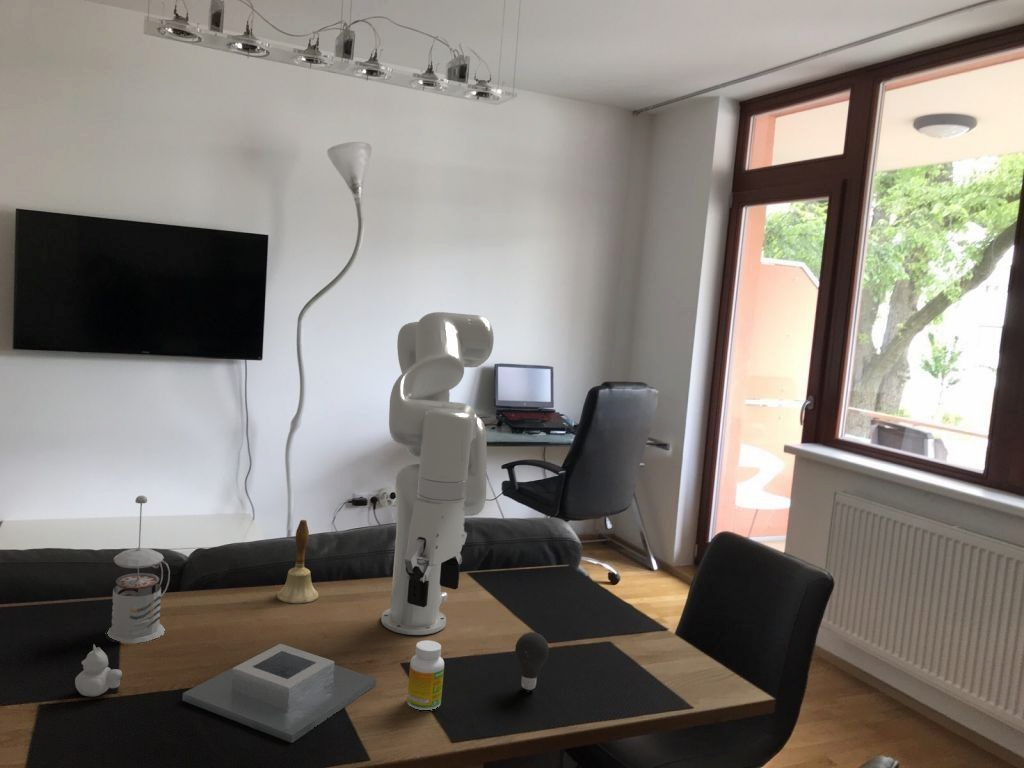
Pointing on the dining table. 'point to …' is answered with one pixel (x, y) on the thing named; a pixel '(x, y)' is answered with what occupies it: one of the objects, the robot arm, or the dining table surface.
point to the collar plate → (273, 714)
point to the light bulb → (531, 657)
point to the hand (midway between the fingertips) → (433, 595)
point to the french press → (137, 623)
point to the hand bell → (299, 573)
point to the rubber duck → (97, 674)
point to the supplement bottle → (426, 676)
